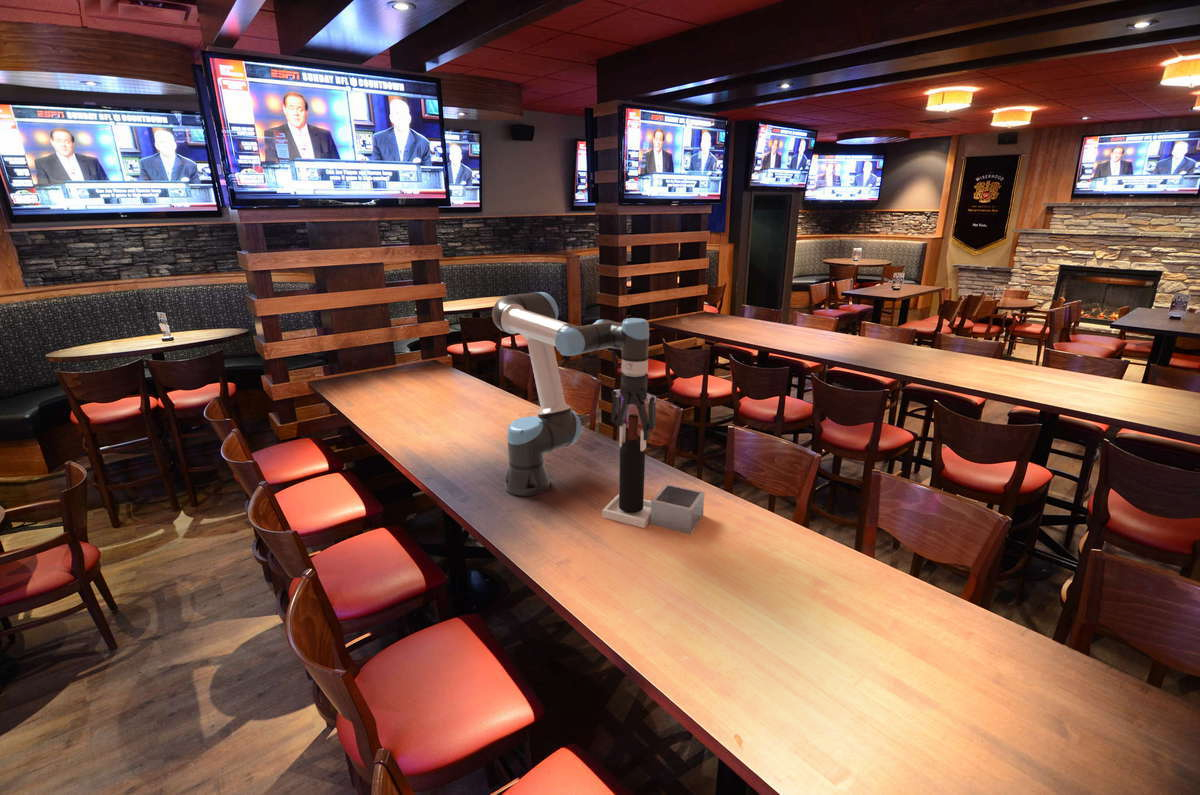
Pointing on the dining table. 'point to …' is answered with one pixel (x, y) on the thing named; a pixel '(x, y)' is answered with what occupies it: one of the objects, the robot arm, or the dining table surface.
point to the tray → (634, 519)
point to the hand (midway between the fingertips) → (632, 447)
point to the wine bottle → (631, 470)
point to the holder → (677, 508)
